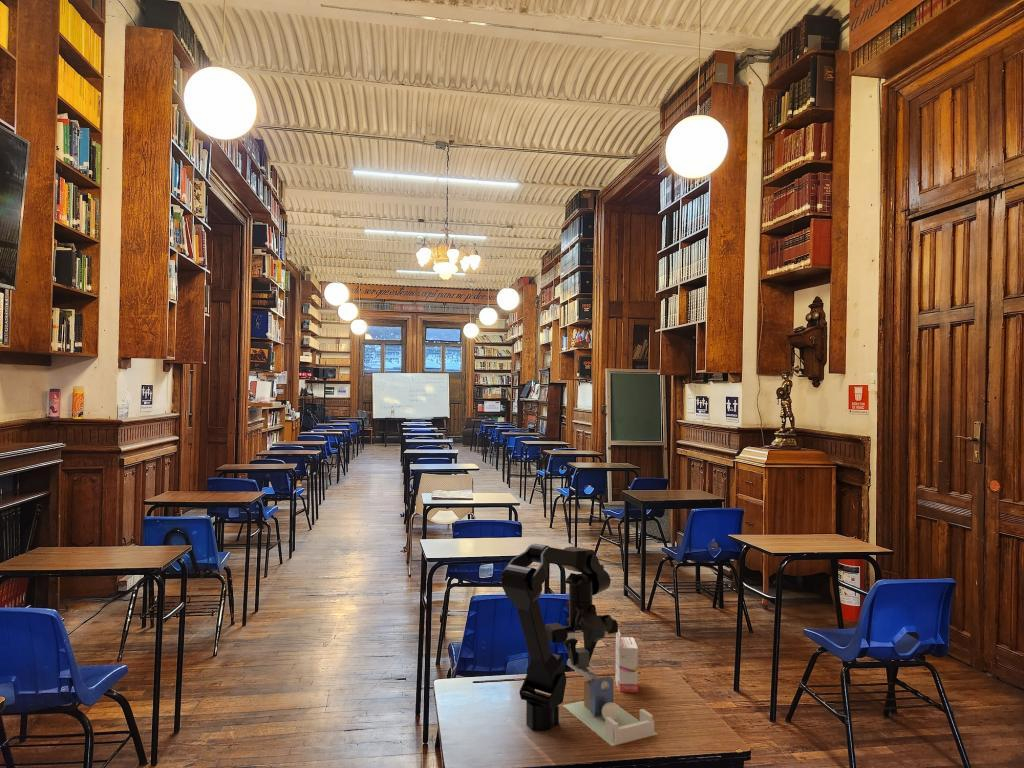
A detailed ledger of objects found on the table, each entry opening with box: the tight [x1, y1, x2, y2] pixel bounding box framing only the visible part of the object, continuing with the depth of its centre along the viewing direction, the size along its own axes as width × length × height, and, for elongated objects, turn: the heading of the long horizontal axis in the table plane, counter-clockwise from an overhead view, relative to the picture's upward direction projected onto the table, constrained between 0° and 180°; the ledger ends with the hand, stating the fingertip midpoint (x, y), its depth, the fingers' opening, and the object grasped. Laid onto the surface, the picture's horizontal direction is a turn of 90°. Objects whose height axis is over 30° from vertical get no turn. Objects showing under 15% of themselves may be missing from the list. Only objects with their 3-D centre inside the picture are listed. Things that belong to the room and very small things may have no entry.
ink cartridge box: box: [614, 628, 639, 693], centre depth 171 cm, size 9×5×15 cm, turn 178°
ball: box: [602, 702, 619, 721], centre depth 151 cm, size 4×4×4 cm
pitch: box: [562, 680, 659, 747], centre depth 152 cm, size 12×21×7 cm, turn 25°
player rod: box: [566, 646, 614, 716], centre depth 160 cm, size 5×16×11 cm, turn 25°
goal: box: [605, 708, 655, 746], centre depth 144 cm, size 10×4×4 cm, turn 115°
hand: (580, 663), depth 163 cm, fingers open, 4 cm apart
